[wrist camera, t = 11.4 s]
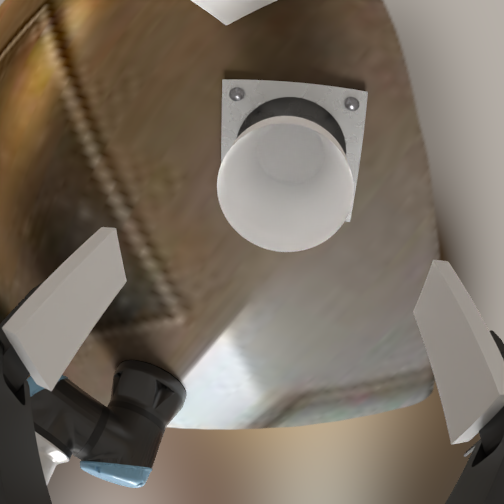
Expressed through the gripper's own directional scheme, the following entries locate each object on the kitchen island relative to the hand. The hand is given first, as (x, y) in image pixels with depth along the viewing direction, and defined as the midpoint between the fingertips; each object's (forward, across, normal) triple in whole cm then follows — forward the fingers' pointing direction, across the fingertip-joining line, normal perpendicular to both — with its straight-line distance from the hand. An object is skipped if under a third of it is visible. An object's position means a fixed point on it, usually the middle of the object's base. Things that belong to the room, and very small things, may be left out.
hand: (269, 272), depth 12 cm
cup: (+21, 0, 0) cm, 21 cm away
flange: (+22, 0, 0) cm, 22 cm away
